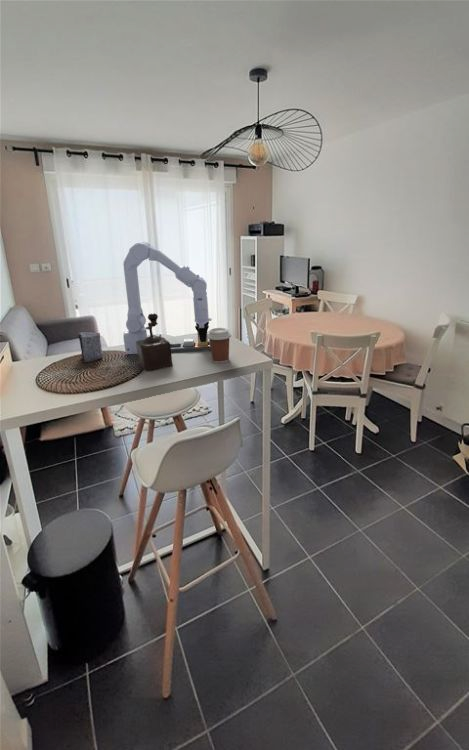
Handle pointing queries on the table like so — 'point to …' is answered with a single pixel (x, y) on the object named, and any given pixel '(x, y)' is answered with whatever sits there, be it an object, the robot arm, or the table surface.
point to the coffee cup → (219, 344)
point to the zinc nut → (189, 342)
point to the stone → (90, 346)
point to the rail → (182, 349)
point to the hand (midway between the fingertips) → (203, 340)
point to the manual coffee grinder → (154, 349)
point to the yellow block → (202, 342)
